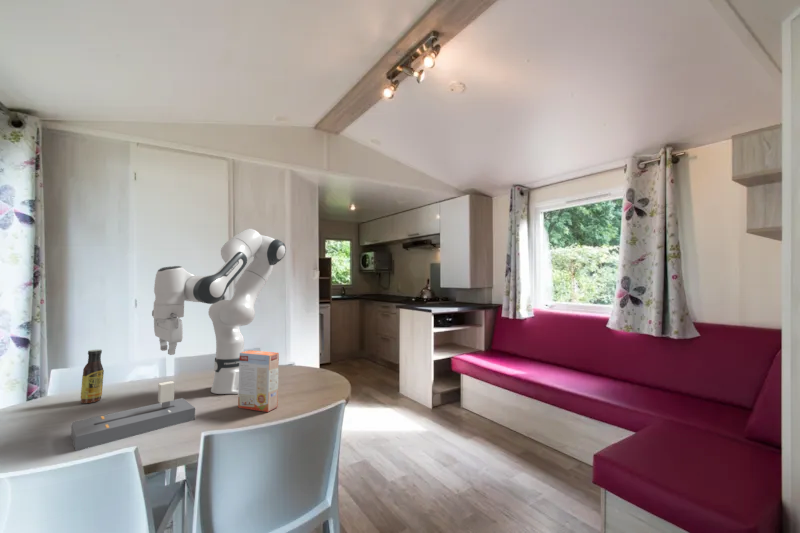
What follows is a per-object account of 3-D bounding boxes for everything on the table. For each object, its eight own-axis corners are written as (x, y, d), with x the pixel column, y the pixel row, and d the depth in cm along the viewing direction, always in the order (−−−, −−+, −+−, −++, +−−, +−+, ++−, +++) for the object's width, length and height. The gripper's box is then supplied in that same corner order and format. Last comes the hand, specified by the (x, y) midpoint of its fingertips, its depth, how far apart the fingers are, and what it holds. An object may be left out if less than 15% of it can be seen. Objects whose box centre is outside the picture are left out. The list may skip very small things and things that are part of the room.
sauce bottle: (88, 404, 130) (91, 352, 131) (75, 403, 131) (78, 351, 132) (106, 399, 137) (108, 349, 137) (94, 397, 138) (96, 348, 139)
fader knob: (171, 403, 120) (172, 380, 120) (173, 406, 118) (174, 382, 118) (157, 406, 117) (158, 383, 117) (160, 409, 115) (160, 385, 115)
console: (182, 408, 127) (182, 397, 128) (194, 419, 118) (195, 407, 118) (71, 435, 105) (71, 421, 105) (75, 451, 96) (76, 436, 96)
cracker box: (278, 407, 130) (279, 352, 131) (267, 413, 124) (269, 355, 125) (249, 402, 134) (250, 349, 135) (237, 408, 129) (238, 352, 130)
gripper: (188, 314, 114) (187, 355, 114) (171, 309, 128) (169, 346, 127) (166, 315, 110) (165, 358, 109) (150, 310, 123) (149, 349, 123)
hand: (167, 352), depth 118 cm, fingers open, 8 cm apart
